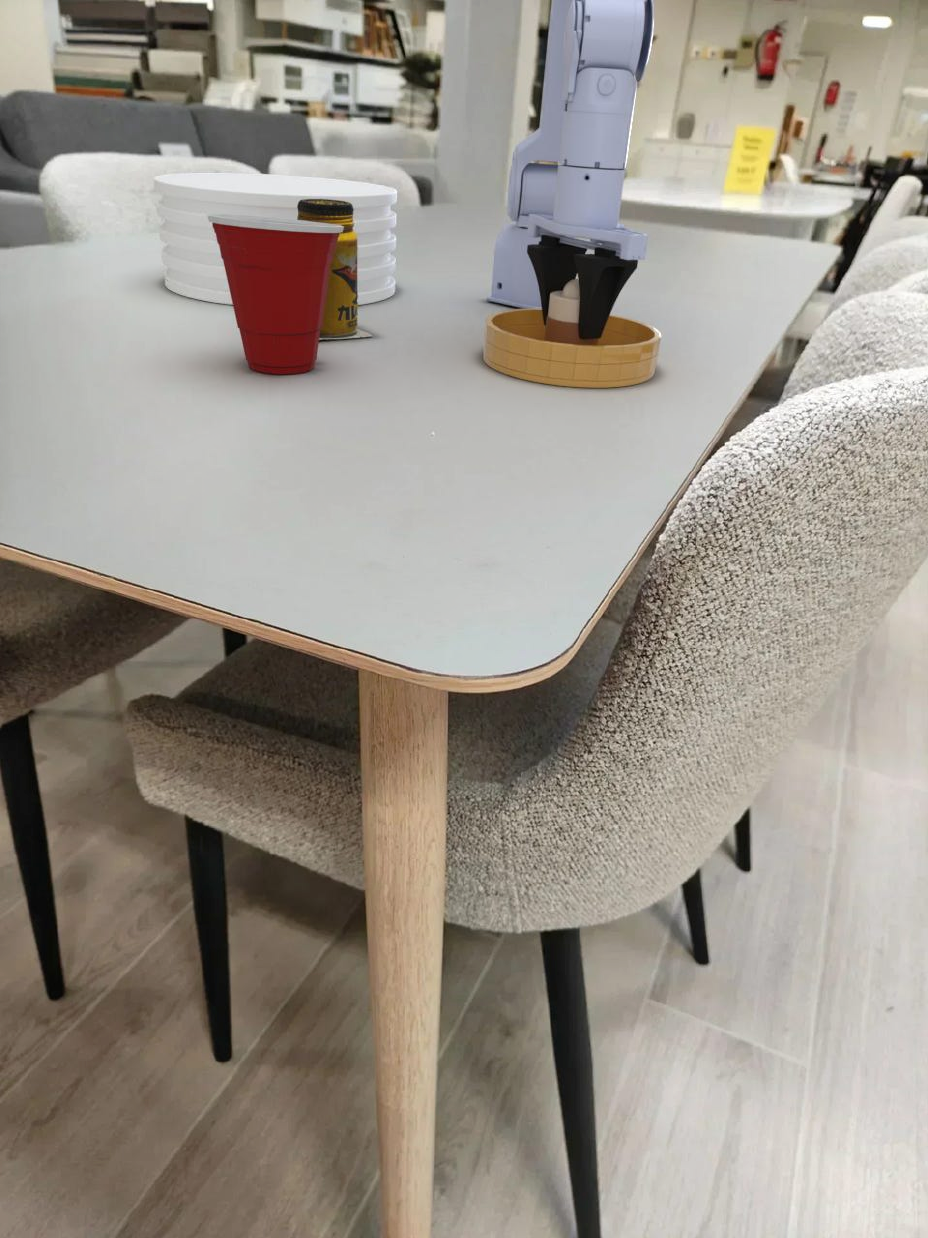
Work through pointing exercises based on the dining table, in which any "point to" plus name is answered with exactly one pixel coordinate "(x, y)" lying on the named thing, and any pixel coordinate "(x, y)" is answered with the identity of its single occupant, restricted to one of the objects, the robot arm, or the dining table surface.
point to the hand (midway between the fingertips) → (572, 331)
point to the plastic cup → (277, 286)
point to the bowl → (570, 351)
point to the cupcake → (565, 316)
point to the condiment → (338, 268)
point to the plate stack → (266, 196)
